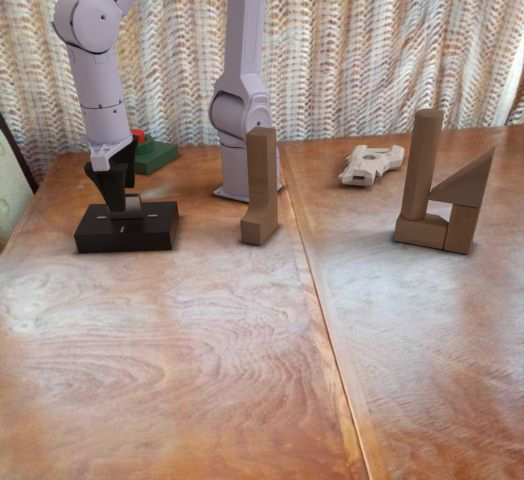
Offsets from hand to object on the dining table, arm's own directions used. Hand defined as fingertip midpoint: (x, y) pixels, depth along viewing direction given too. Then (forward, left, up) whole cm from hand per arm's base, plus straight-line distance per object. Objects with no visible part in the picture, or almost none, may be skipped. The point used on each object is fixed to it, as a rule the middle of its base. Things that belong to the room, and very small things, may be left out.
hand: (123, 198), depth 80 cm
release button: (+18, -24, -3) cm, 30 cm away
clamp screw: (0, 0, -3) cm, 3 cm away
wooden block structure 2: (-42, -18, -6) cm, 46 cm away
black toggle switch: (0, 0, -6) cm, 6 cm away
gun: (-25, -38, -6) cm, 46 cm away
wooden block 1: (-18, -9, -6) cm, 21 cm away
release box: (+18, -24, -6) cm, 31 cm away
